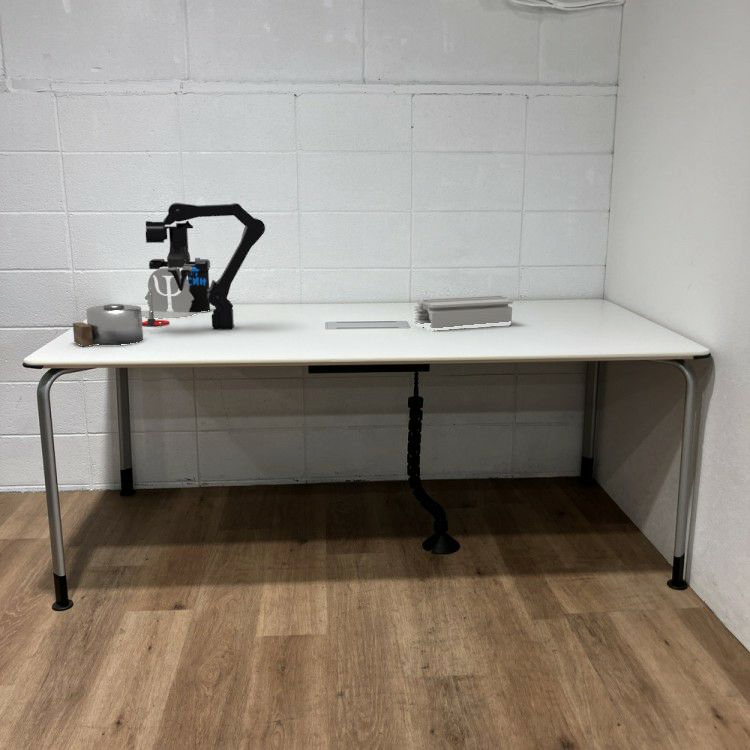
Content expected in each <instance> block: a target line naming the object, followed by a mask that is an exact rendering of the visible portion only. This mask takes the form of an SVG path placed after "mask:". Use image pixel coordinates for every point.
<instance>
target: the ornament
mask: <svg viewBox="0 0 750 750" xmlns="http://www.w3.org/2000/svg"><path fill="white" fill-rule="evenodd" d="M167 270H168V267H161V268H159V269H155V270H154V271H153V272H152V273H151V274H150V275H149V278H148V282H147V288H148V291H147V294H146V295H145V297H144V299H145V300H146V301H147V302H146V303H147V305H148V307H149V288H152V296H153V312H154V318H158V319H157V320H164V319H163V318H176V319H181V318H180V317H185V318H188V317H187V316H191V317H193V316H192V315H194V314H197V312H189V311H190V307H191V305H192V302H191V301H193V300H194V298H193V296H192V295H191V293H190V291H189V283H188V277H187V278H186V281H185V284H184V288H183V291H180V292H179V293H178V294H176V293H177V292H178V291H179V288H178V285H177V283H176V280H175V278H174V276H173V275H172V273H171V272H168V271H167ZM154 276H155V277H156V280H157V285H158V290H157V288H156V281H155V277H154ZM180 276H181V270H180ZM166 277H170V281H169V283H170V284H169V285H170V286H169V287H170V299H171V300H170V301H171V309H172V311H168V309H169V304H168V303H169V301H168V284H167V283H168V282H167V279H166ZM175 294H176V295H175ZM141 313H142V317H145V318H144V319H149V310H141ZM197 315H198V314H197Z"/></svg>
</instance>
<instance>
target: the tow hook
mask: <svg viewBox="0 0 750 750" xmlns="http://www.w3.org/2000/svg"><path fill="white" fill-rule="evenodd" d="M148 291H149V304H148V305H149V306H148V307H149V308H148V309H149V310H148V311H149V318H147V320H144V321H142V327H152V326H154V327H157V326H161V327H162V326H166V325H169V324H170V320H167V319H154V312H153V296H152V288H149V289H148ZM159 322H161V323H159Z"/></svg>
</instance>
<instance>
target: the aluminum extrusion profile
mask: <svg viewBox="0 0 750 750" xmlns="http://www.w3.org/2000/svg"><path fill="white" fill-rule="evenodd" d="M509 305H513V300H511V299H508V298H507V296H503V295H489V296H487V295H486V296H469V297H467V296H466V297H465V296H464V297H448V298H430V299H429V298H427V299H419V300H418V299H417V305H416V306H414V308H415V309H414V311H415V312H414V314H416V315H415V318H414V321H415V322H414V323H416V322H417V323H420V324H424V323H431V325H430V327H431V328H443V327H454V326H463V325H474V324H486V323H499V322H509V321H511V322H512V318H513V317H512V316H513V315H512V314H513V307H512V306H509ZM417 323H416V324H417Z"/></svg>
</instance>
